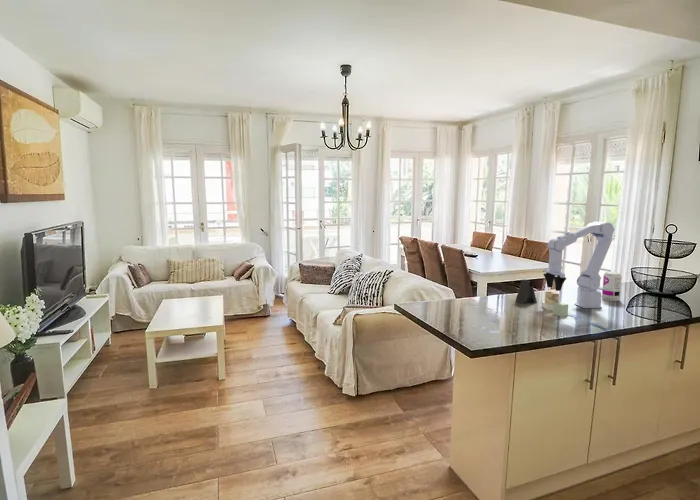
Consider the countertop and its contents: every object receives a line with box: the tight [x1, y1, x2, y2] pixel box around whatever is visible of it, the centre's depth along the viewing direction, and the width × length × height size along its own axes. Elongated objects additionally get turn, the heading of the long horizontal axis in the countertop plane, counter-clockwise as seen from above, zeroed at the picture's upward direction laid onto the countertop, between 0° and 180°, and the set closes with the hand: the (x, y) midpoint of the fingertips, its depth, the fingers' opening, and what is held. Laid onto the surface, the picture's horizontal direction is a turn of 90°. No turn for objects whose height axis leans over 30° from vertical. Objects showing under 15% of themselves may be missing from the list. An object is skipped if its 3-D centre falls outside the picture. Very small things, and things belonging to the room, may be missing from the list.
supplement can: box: [601, 271, 622, 302], centre depth 215 cm, size 8×8×15 cm
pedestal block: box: [541, 301, 553, 311], centre depth 199 cm, size 7×7×3 cm
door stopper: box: [514, 279, 538, 305], centre depth 211 cm, size 9×6×12 cm, turn 108°
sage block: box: [552, 301, 569, 317], centre depth 187 cm, size 4×4×6 cm
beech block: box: [544, 291, 560, 305], centre depth 198 cm, size 4×4×6 cm
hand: (553, 289), depth 199 cm, fingers open, 7 cm apart
